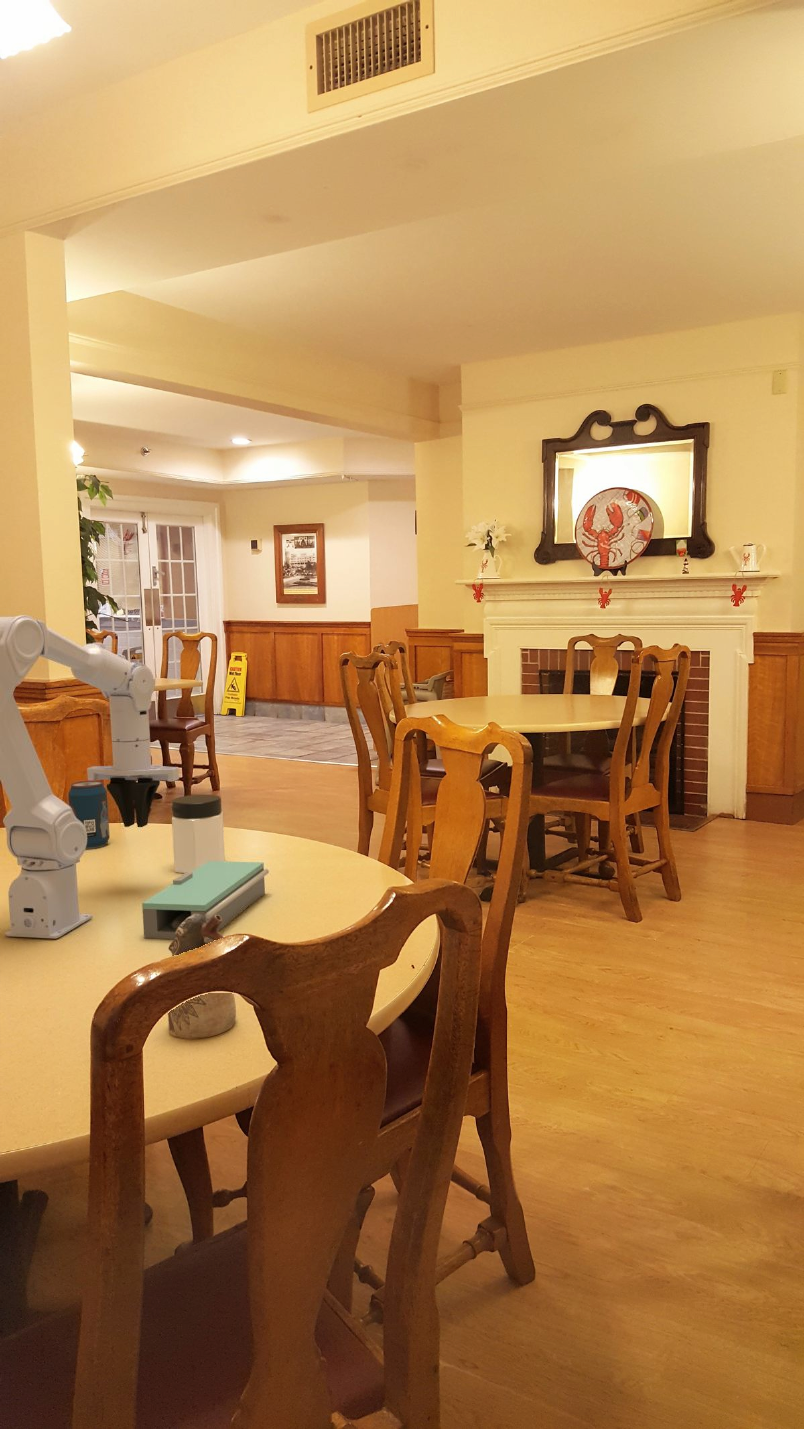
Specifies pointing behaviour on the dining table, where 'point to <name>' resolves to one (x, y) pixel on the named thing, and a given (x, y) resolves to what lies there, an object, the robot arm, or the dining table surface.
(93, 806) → the soda can
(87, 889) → the dining table surface
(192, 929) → the figurine
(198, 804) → the jar
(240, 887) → the cable duct
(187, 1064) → the dining table surface
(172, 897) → the duct lid
